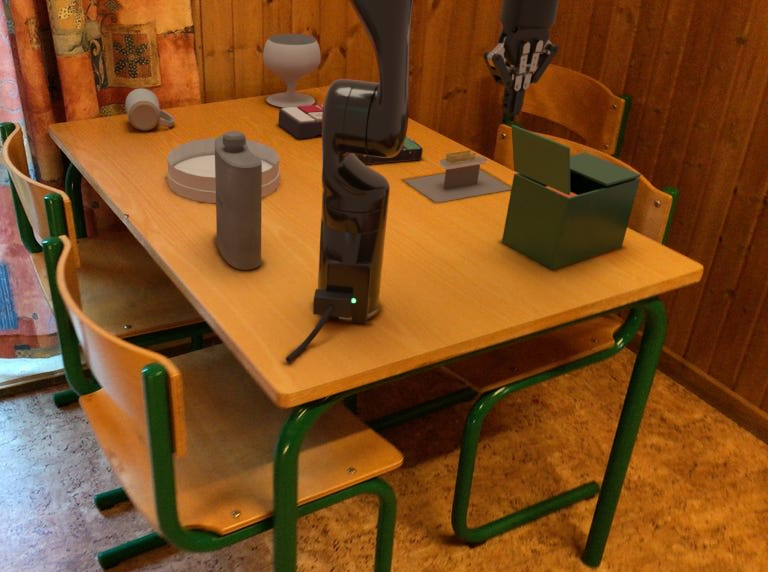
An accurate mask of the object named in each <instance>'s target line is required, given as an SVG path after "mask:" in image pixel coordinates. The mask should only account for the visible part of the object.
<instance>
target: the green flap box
mask: <svg viewBox="0 0 768 572" xmlns="http://www.w3.org/2000/svg"><path fill="white" fill-rule="evenodd" d="M641 175H642V174H641V173H638V172H636V171H633V170H631V169H628V168H626V167H623V166H621V165H618V164H615V163H613V162H611V161H608V160H606V159H603V158H601V157H598V156H595V155H593V154H591V153H588V152H581V153H578V154H572V155H570V192H572V193H574V194H577V195H576V196H573V197H569V198H568V197H566V196H564V195H562V194H560V193H557V192H555V191H553V190H551V189H549V188H547V187H546V186H547V185H545V184H542V183H540V182H538V181H536V180H534V179H531V178H529V177H527V176H525V175H523V174H520V173H518V172H516V173H514V174H513V177H512V183H511V188H512V189H511V190H510V195H509V200H508V206H507V211H506V216H505V223H504V227H503V233H502V238H501V243H502V244H504V245H506V246H507V247H510V248H511V249H514V251H517V252H519V253H521V254H523V255H525V256H526V257H528V258H530V259H532V260H533V261H535V262H537V263H539V264H541V265H543V266H544V267H546V268H548V269H551V270H552V271H554V270H558V269H560V268H564V267H567V266H570V265H573V264H576V263H579V262H582V261H585V260H588V259H592V258H594V257H597V256H601V255H603V254H607V253H610V252H612V251H615V250H619V249H623V244H624V241H625V237H626V233H627V230H628V226H629V222H630V218H631V216H632V215H631V214H632V211H633V207H634V203H635V200H636V197H637V193H638V190H639V185H640V182H641V179H640V177H641Z"/></svg>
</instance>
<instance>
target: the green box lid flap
mask: <svg viewBox="0 0 768 572" xmlns="http://www.w3.org/2000/svg"><path fill="white" fill-rule="evenodd" d="M510 129H511V143H512V158H513V159H512V160H513V171H514V172H516V173H520V174H523V175H525V176H527V177H529V178H531V179H534V180H536V181H538V182H540V183H542V184H545V185H547V186H549V187H551V188H553V189H556V190H558V191H560V192H562V193H565V194H567V195H570V156H571V147H570V146H567V145H565V144H563V143H560V142H557V141H555V140H553V139H550V138H548V137H545V136H542V135H540V134H538V133H535V132H532V131H530V130H528V129H525V128H522V127H520V126H517V125H515V124H512V125H511V128H510Z"/></svg>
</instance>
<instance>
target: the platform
mask: <svg viewBox="0 0 768 572" xmlns="http://www.w3.org/2000/svg"><path fill="white" fill-rule="evenodd" d="M471 151H472V150H471V149H466V150H459V151H452V152H447V153H446V156H445V158H440V160H439V165H440V168H441V169H443V170H445V173H440V174H434V175H428V176H422V177H421V176H420V177H415V178H410V179H409V178H408V179H404V180H403V182H404V183H406V184H408V185H410V186H411V187H412V188H413V189H415V190H417V191H418V192H420V193H421V194H423V195H424V196H426V197H427V198H429V199H430V200H432V202H434V203H436V204H437V203H442V202H449V201H454V200H460V199H464V198H465V199H466V198H471V197H472V198H473V197H478V196H483V195H487V194H488V195H489V194H493V193H500V192H505V191H511V189H512V187H511V186H509V185H507V184H505V183H504V182H503V181H500V180H499V179H497V178H495V177H493V176H492V175H490V174H488V173H487V172H485V171H484V170H481V169H480V168H481V165H485V164H487V163H488V159H487V158H485V157H481V156H476V153H477V152H476V151H474V152H471Z"/></svg>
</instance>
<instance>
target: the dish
mask: <svg viewBox="0 0 768 572" xmlns="http://www.w3.org/2000/svg"><path fill="white" fill-rule="evenodd" d="M216 138H217V137H210V138H201V139H195V140H191V141H188V142H184V143H182V144H179V145H177V146H175V147H174V148H172V149H171V150H170V151H169V152H168V154H167V157H166V161H167V172H166V177H167V186H168V187H169V188H170V190H171V191H172V192H174V193H175V194H176V195H177V196H180V197H183V198H185V199H187V200H192V201H195V202H200V203H207V204H216V183H215V140H216ZM246 140H247V146H248V148H249V150H250V151H251V152H252V153H253V154H254V155H255V156H256V157H258V158H259V159H260V160H261V162H262V198H265V197H267V196H269V195H271V194H273V193H274V192H275V191H276V190H278V188H279V186H280V184H281V172H280V155H279V152H277V151H276V150H275V148H273V147H272V146H269V145H268V144H265V143H262V142H258V141H256V140H251V139H246Z"/></svg>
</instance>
